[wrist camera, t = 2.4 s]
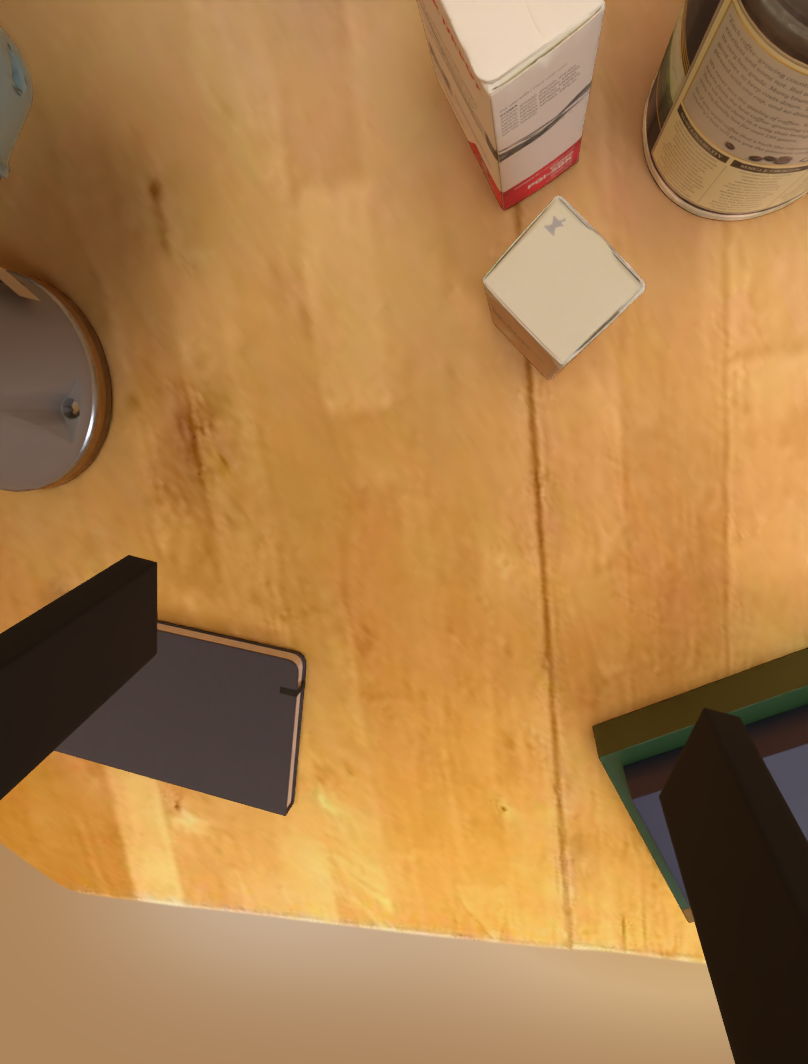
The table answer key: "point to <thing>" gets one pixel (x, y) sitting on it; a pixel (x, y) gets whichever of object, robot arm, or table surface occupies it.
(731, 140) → the coffee can
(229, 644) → the notebook
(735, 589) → the table surface
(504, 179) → the ink box
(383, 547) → the table surface
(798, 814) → the book stack
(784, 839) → the robot arm
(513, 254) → the box
